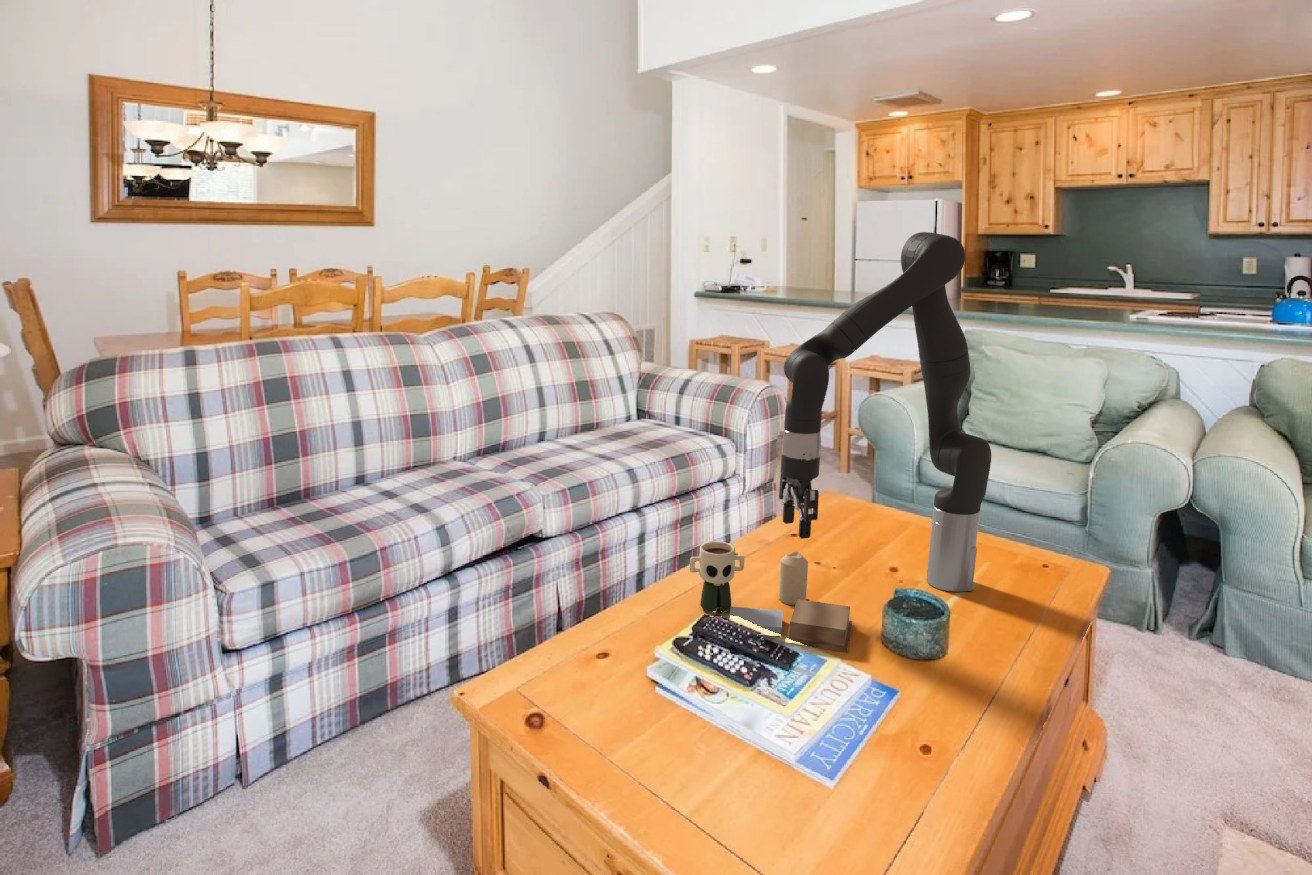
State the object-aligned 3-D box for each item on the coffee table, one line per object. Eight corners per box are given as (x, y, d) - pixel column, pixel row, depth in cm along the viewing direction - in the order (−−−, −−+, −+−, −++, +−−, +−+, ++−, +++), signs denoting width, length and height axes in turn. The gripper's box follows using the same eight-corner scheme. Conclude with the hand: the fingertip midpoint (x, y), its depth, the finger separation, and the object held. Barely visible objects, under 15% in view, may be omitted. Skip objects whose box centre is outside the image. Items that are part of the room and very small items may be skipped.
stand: (852, 624, 155) (853, 605, 154) (847, 652, 145) (848, 632, 144) (793, 616, 158) (794, 597, 157) (785, 642, 148) (786, 622, 147)
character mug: (691, 617, 157) (692, 555, 154) (686, 601, 164) (687, 541, 161) (746, 615, 159) (748, 553, 155) (738, 599, 165) (741, 540, 162)
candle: (787, 591, 169) (789, 547, 167) (810, 598, 166) (813, 553, 164) (773, 600, 165) (775, 554, 163) (797, 608, 162) (800, 561, 159)
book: (782, 620, 157) (782, 610, 156) (781, 637, 150) (781, 627, 150) (730, 615, 158) (731, 606, 158) (727, 632, 152) (728, 622, 151)
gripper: (770, 444, 164) (766, 519, 168) (796, 462, 150) (791, 544, 154) (804, 442, 166) (799, 517, 169) (834, 461, 152) (828, 541, 156)
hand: (796, 530), depth 162 cm, fingers open, 8 cm apart
